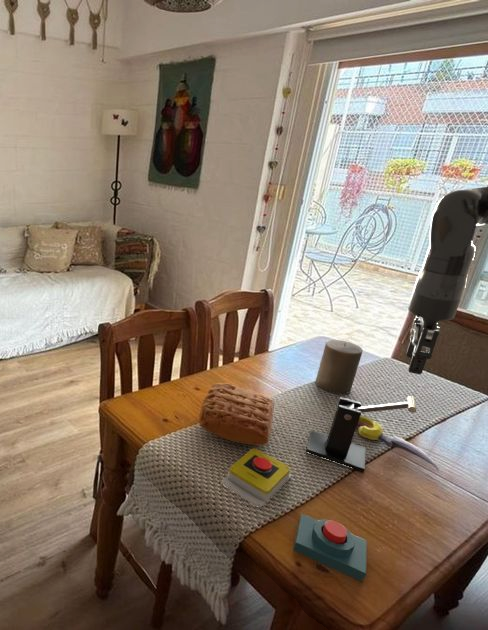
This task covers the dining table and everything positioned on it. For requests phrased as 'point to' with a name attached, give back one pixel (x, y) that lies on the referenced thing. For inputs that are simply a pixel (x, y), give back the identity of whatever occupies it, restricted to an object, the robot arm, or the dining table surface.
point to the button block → (331, 548)
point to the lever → (387, 406)
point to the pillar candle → (338, 366)
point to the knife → (389, 438)
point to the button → (334, 532)
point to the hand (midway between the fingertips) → (413, 364)
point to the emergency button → (257, 477)
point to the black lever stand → (340, 438)
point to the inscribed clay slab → (237, 414)
